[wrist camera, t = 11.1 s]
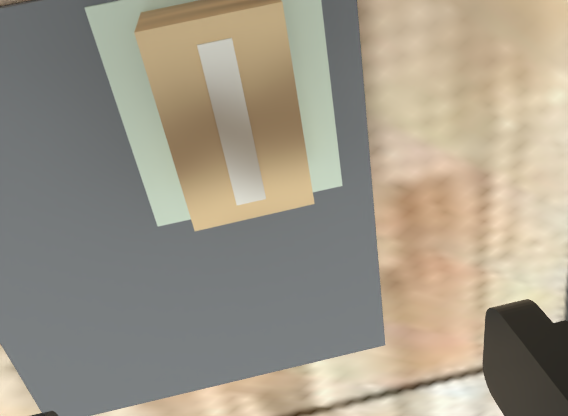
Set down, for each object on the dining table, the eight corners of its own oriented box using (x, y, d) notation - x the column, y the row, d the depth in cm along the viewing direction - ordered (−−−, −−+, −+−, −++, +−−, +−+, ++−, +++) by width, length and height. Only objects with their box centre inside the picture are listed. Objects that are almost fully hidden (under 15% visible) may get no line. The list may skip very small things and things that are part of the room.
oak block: (140, 12, 21) (134, 33, 18) (268, -14, 21) (283, 2, 18) (193, 190, 25) (194, 232, 22) (298, 166, 25) (315, 205, 22)
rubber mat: (51, 416, 32) (48, 428, 31) (-171, 39, 20) (-183, 44, 20) (382, 338, 33) (386, 347, 32) (347, -61, 21) (353, -59, 21)
